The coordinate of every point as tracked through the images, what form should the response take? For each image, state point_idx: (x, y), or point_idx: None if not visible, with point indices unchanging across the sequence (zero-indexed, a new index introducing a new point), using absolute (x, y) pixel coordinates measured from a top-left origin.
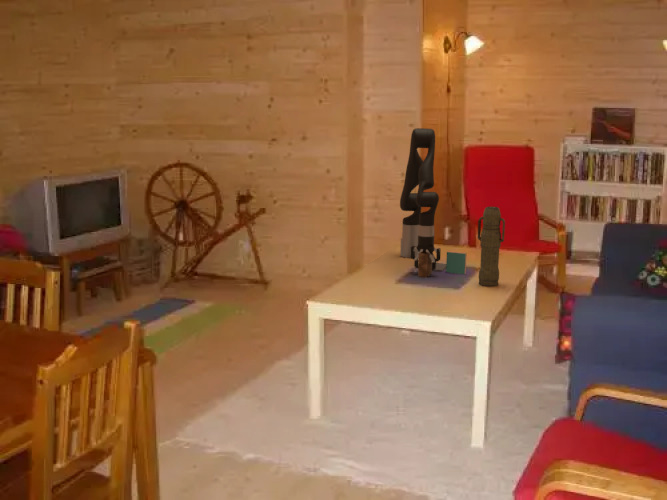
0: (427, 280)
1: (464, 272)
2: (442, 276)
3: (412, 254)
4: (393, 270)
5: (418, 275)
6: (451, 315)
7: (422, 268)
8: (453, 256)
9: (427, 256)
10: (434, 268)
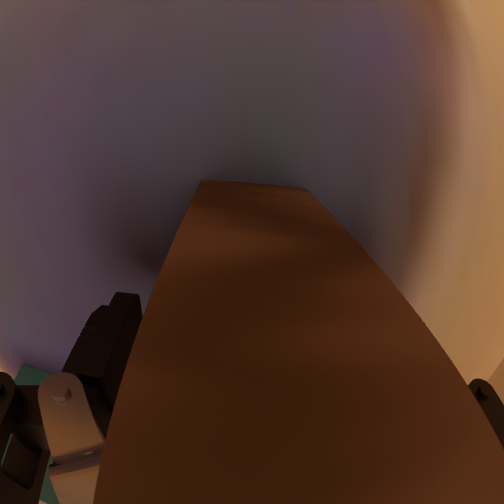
0: (156, 46)
1: (19, 372)
2: (76, 284)
3: (500, 432)
4: (470, 314)
5: (306, 192)
6: None
7: (268, 221)
8: (47, 477)
9: (121, 501)
10: (100, 309)
